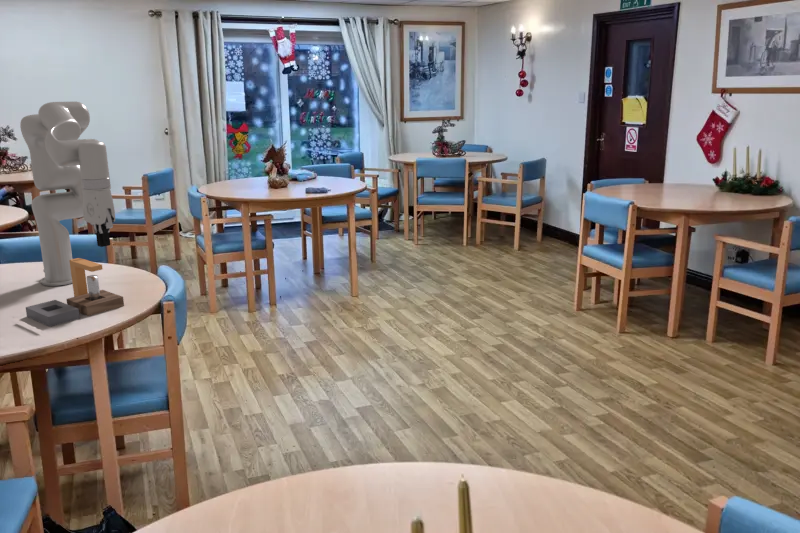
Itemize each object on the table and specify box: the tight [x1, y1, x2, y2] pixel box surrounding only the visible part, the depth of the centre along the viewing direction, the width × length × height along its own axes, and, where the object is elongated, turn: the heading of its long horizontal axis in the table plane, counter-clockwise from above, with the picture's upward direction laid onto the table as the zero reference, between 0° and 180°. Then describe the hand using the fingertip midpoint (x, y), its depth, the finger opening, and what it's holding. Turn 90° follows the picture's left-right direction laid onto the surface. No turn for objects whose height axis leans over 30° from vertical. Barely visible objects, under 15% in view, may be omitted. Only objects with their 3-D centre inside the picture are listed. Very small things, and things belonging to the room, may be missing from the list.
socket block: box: [66, 289, 125, 317], centre depth 214 cm, size 12×12×4 cm
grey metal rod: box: [86, 274, 101, 301], centre depth 213 cm, size 3×3×10 cm
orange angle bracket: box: [69, 257, 104, 297], centre depth 214 cm, size 14×4×15 cm, turn 53°
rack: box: [25, 299, 81, 328], centre depth 205 cm, size 14×9×4 cm, turn 53°
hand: (104, 245), depth 203 cm, fingers closed
